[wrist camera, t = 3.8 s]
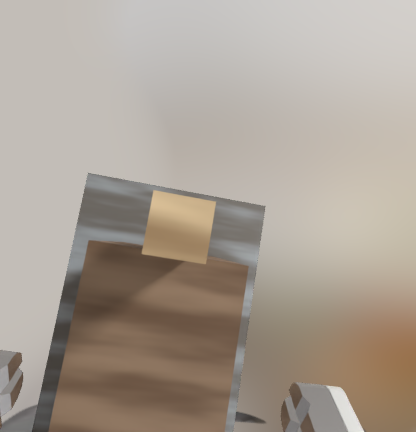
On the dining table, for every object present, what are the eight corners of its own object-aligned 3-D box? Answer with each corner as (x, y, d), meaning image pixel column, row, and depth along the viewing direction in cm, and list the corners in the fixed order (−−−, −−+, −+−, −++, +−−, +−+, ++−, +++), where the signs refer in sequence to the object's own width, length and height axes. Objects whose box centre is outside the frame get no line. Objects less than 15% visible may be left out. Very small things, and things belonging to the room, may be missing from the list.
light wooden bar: (212, 265, 14) (224, 190, 14) (134, 252, 13) (149, 176, 14) (188, 254, 30) (194, 218, 30) (152, 248, 29) (158, 212, 30)
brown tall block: (277, 655, 21) (333, 180, 24) (-106, 656, 18) (26, 117, 22) (224, 459, 39) (260, 207, 43) (34, 444, 36) (91, 176, 40)
